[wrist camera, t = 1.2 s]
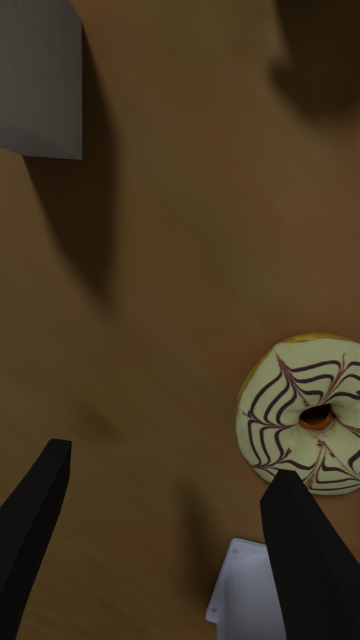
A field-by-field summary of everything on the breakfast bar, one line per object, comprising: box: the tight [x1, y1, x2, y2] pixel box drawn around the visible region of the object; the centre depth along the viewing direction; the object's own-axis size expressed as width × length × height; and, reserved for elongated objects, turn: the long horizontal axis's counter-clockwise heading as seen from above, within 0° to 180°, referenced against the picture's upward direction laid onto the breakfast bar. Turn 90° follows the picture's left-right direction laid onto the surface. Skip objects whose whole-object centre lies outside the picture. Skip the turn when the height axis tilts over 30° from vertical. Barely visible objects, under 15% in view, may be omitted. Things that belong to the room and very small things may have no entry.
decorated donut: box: [234, 332, 360, 495], centre depth 20 cm, size 10×11×4 cm
